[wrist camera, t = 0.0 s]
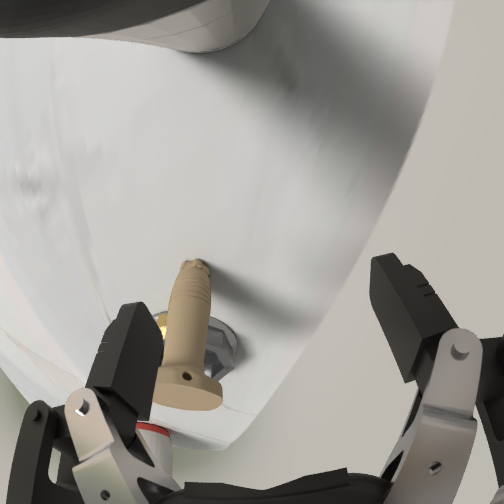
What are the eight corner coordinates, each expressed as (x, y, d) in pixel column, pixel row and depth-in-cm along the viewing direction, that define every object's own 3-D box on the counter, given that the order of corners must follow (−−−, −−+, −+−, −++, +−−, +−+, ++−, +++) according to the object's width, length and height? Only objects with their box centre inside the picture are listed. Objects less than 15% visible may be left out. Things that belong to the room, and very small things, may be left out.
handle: (216, 291, 33) (211, 414, 21) (162, 276, 31) (136, 399, 20) (230, 260, 31) (230, 393, 19) (171, 243, 29) (140, 375, 17)
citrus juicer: (106, 416, 62) (97, 479, 46) (162, 420, 61) (157, 491, 45) (132, 433, 71) (127, 488, 55) (183, 437, 70) (181, 496, 55)
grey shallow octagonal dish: (120, 316, 36) (113, 337, 33) (220, 301, 34) (219, 324, 31) (165, 371, 44) (162, 389, 42) (247, 362, 43) (248, 381, 40)
